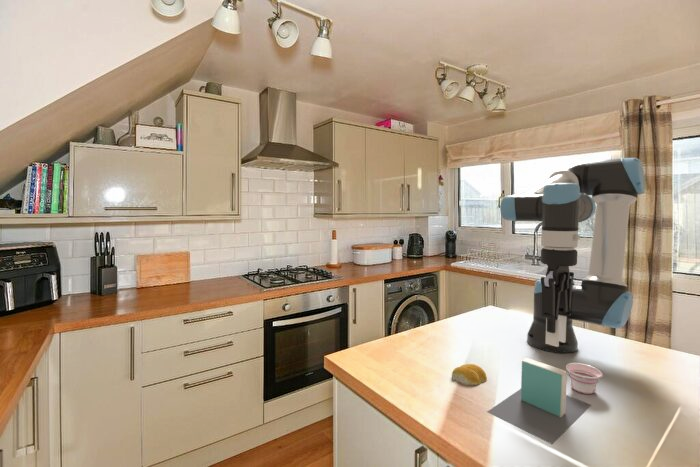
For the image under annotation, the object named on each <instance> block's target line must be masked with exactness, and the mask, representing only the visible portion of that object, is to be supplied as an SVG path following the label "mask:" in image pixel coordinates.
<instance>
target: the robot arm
mask: <svg viewBox="0 0 700 467" xmlns="http://www.w3.org/2000/svg"><path fill="white" fill-rule="evenodd" d="M644 171H645V170H644V168H643V164H642V161H641V160H640V159H639V158H637V157H620V158H613V159H611V158H610V159H609V158H608V159H601V160H590V161H589V160H588V161H582V162H577V163H574V164H571V165H568V166H565V167H563V168H561V169H558V170H557V171H555V172H553V173H552V174H551V175H550V176H549V178H548V179H547V180H545V181H543V182H541V183H539V184H537V185H536V186H534V187H532V188H530V189H529V190H527V191H525V192H523V193H521V194H512V195H511V194H510V195H505V196H503V198H502V200H501V201H500V206H499V207H500V208H499V209H500V215H501V217H502V219H503V220H505V221H509V222H510V221H512V222H541V234H540V235H541V238H540V246H541V247H542V248H541V250H540V263H541V264H543V265H546V266H547V267H546V268H547V269H546V272H545V276H542V277H541V278H540V279H538V280H536V281H535V283H534V289H533V290H534V291H533V315H532V316H533V319H532V323H531V324H530V327H529V330H528V332H527V335H526V337H527V339H526V342H528V344H529V345H531V346H533V347H535V349H536V348H537V349H539V350H543V351H547V352H551V353H558V354H559V353H560V354H570V353H571V354H572V353H575V352H577V351H578V339H577V336H576V333H575V330H574V327H573V321H576V322H582V323H587V324H592V325H596V326H600V327H603V328H604V327H606V328H613V329H620V328H623V327H624V326H625V325H626V323H627V322H628V319H629V318H630V315H631V311H632V308H633V303H634V294H633V292H631V291H630V290H629V291H628V285H627V284H626V283H625V282H624V281H623V270H624V262H625V261H624V260H625V252H626V244H627V234H628V226H629V218H630V208H631V205H632V204H633V203H635V202H636V201H637V200H638V195H640V196H641V195H642V194H644V193H645V189H646V180H645V172H644ZM594 214H595V217H594V224H593V225H594V226H593V227H594V228H593V234H592V242H591V249H590V250H591V251H590V258H589V266H588V272H587V273H588V275H587V276H584V278H582V279H581V284H575V281H574V276H575V273H574V272H573V271H570V267H575V266H576V265H577V264H578V251H577V249H576V248H577V247H578V243H579V242H578V240H580V239H581V235H579V224H580V223H582V222H584V221H588V220H589V219H591V218H592V217H593V216H594Z"/></svg>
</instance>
